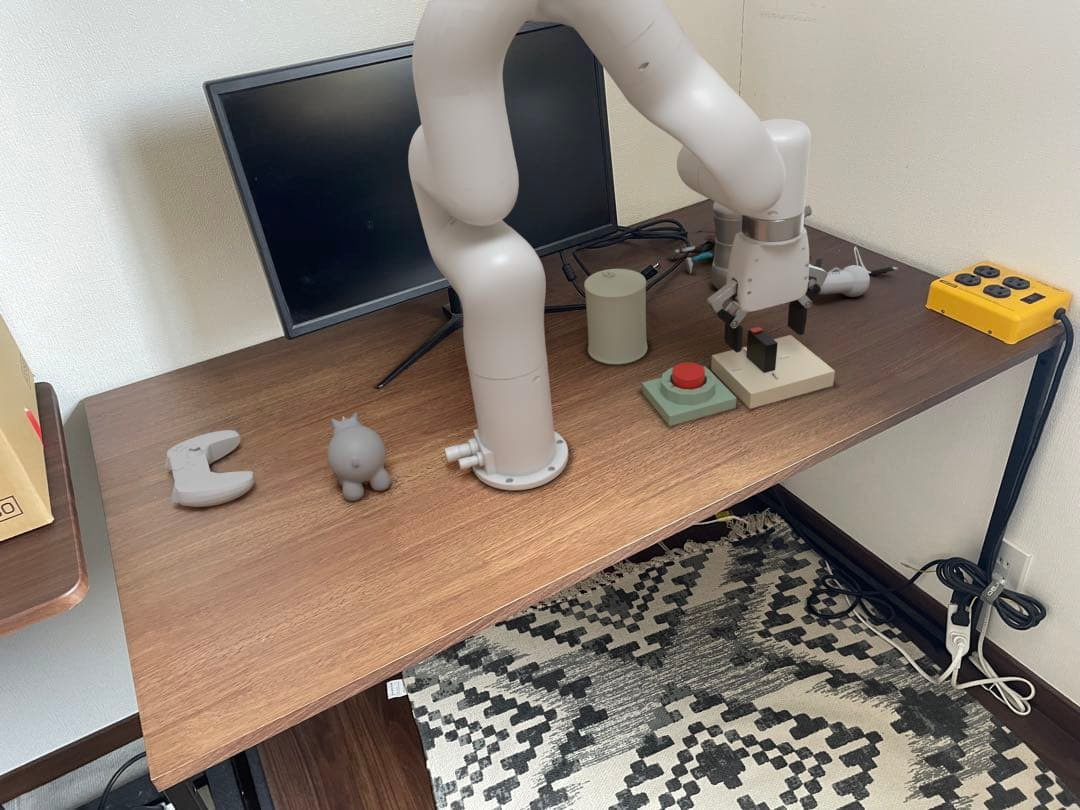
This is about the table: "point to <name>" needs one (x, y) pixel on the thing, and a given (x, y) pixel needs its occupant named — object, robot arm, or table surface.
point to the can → (616, 316)
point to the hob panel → (773, 373)
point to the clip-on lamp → (848, 278)
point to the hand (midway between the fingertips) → (764, 339)
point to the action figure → (698, 251)
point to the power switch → (687, 398)
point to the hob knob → (761, 349)
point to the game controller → (206, 470)
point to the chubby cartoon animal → (357, 457)
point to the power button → (688, 376)
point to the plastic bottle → (723, 241)
